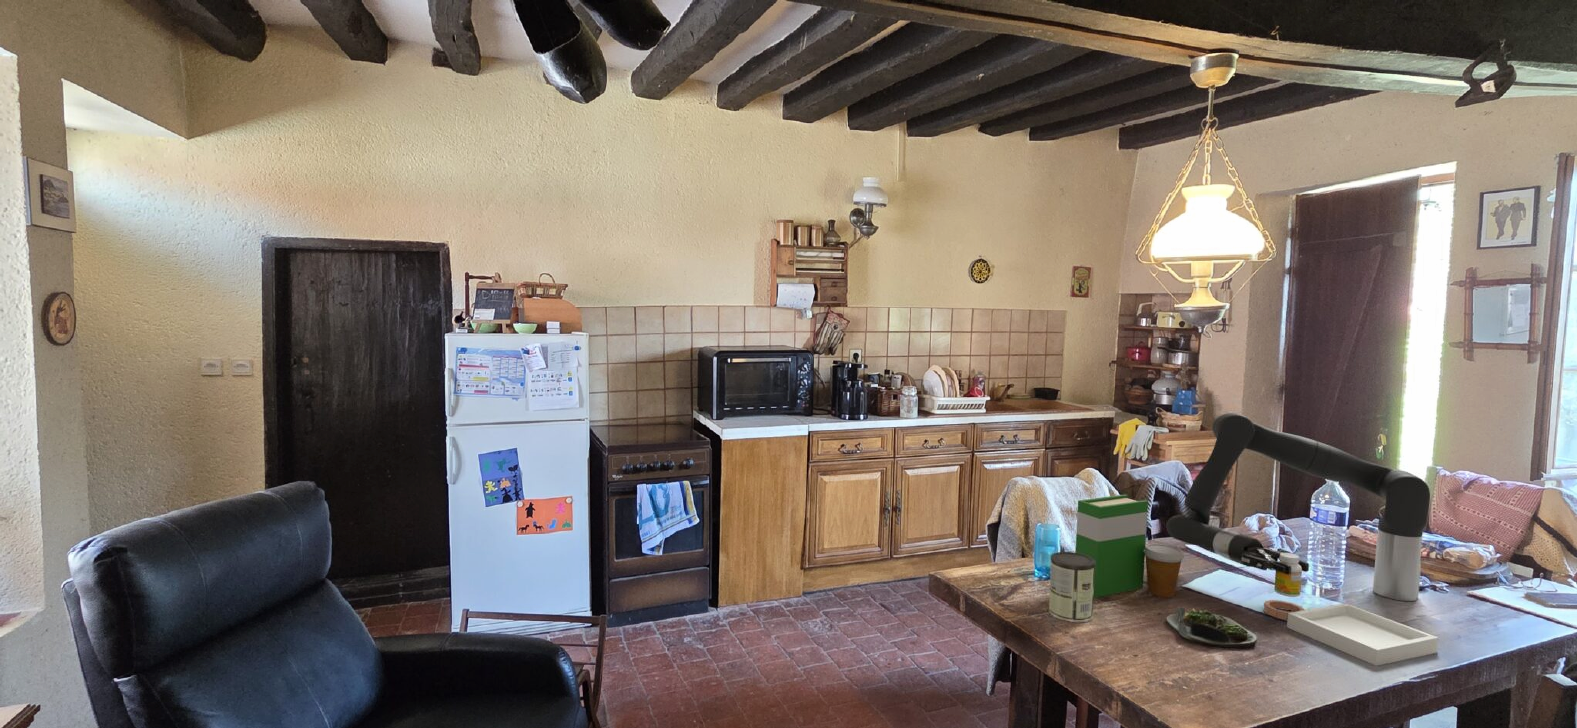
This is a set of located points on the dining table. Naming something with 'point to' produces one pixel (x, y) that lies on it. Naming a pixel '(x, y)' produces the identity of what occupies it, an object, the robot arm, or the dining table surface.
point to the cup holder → (1273, 604)
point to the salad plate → (1211, 630)
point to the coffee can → (1071, 587)
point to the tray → (1363, 633)
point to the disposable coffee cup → (1162, 568)
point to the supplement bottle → (1289, 576)
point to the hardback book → (1113, 541)
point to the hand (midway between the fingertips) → (1298, 568)
